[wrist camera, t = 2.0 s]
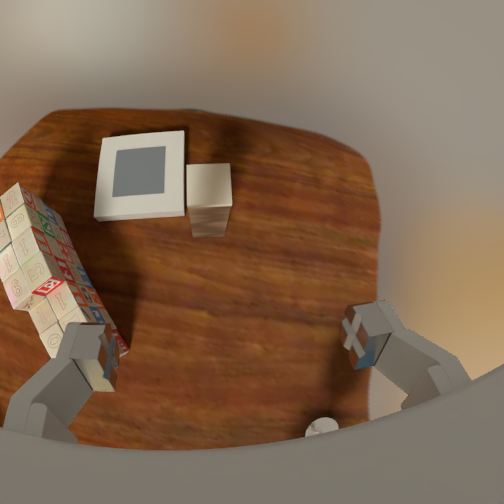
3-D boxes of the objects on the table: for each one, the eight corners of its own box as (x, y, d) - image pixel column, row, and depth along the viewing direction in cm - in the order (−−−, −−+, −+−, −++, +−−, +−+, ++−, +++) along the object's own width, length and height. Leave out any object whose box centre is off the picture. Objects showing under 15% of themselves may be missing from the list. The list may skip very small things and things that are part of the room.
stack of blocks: (132, 350, 35) (99, 364, 23) (96, 373, 33) (54, 393, 21) (60, 214, 37) (17, 179, 25) (29, 238, 35) (-20, 212, 23)
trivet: (98, 221, 37) (93, 216, 35) (106, 145, 40) (102, 137, 38) (184, 215, 39) (183, 210, 37) (184, 138, 41) (184, 130, 39)
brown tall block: (192, 238, 39) (187, 204, 27) (191, 207, 40) (186, 164, 28) (224, 236, 39) (232, 203, 28) (222, 206, 40) (229, 163, 28)
